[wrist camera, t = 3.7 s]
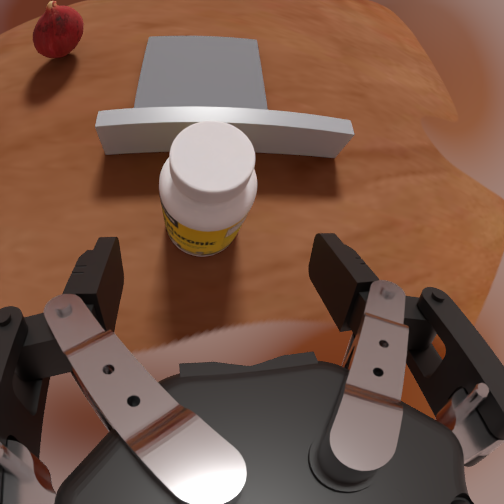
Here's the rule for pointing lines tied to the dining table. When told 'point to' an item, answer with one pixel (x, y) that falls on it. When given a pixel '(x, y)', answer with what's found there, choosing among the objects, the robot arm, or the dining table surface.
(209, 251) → the supplement bottle
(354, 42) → the dining table surface
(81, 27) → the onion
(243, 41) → the slate mat
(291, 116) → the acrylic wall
